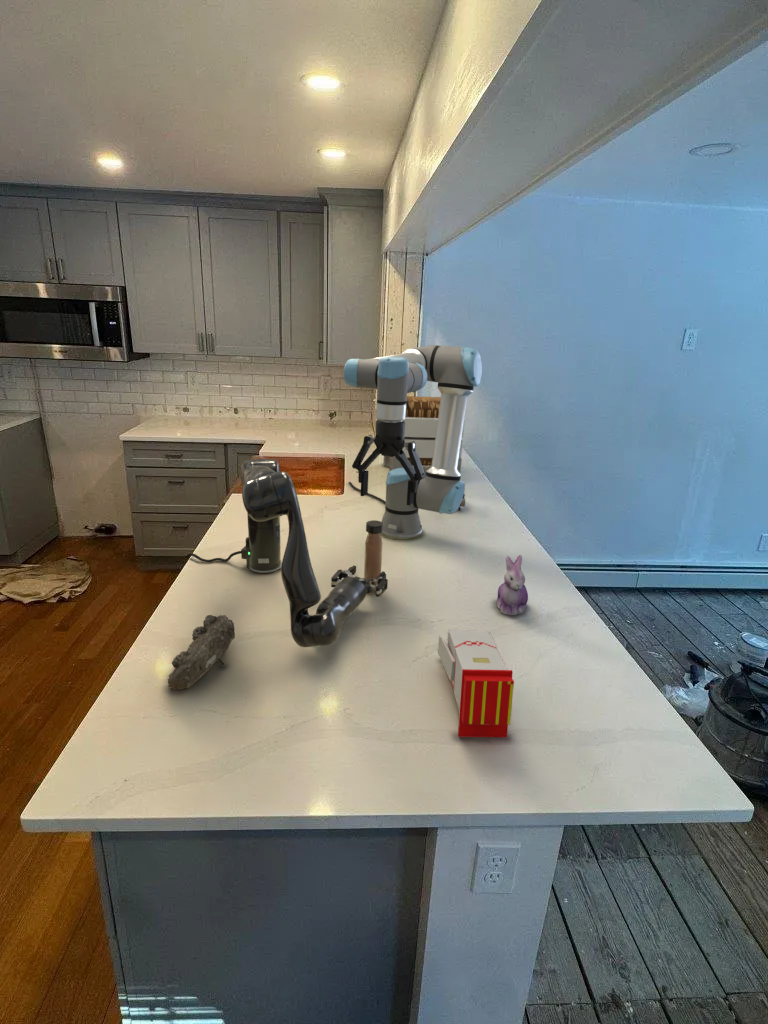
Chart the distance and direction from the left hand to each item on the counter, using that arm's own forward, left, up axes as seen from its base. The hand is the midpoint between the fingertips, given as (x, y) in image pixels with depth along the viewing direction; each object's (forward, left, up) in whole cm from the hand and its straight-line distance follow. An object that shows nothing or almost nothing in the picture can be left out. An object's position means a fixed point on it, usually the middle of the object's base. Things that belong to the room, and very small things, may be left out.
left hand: (369, 571), depth 155 cm
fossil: (-20, -45, -7) cm, 50 cm away
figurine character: (+5, +83, -7) cm, 84 cm away
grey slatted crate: (-22, +125, -7) cm, 127 cm away
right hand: (+3, +4, +20) cm, 21 cm away
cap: (0, +3, +13) cm, 13 cm away
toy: (+35, -32, -7) cm, 48 cm away
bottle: (0, +3, -7) cm, 7 cm away
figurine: (+38, +8, -7) cm, 40 cm away
